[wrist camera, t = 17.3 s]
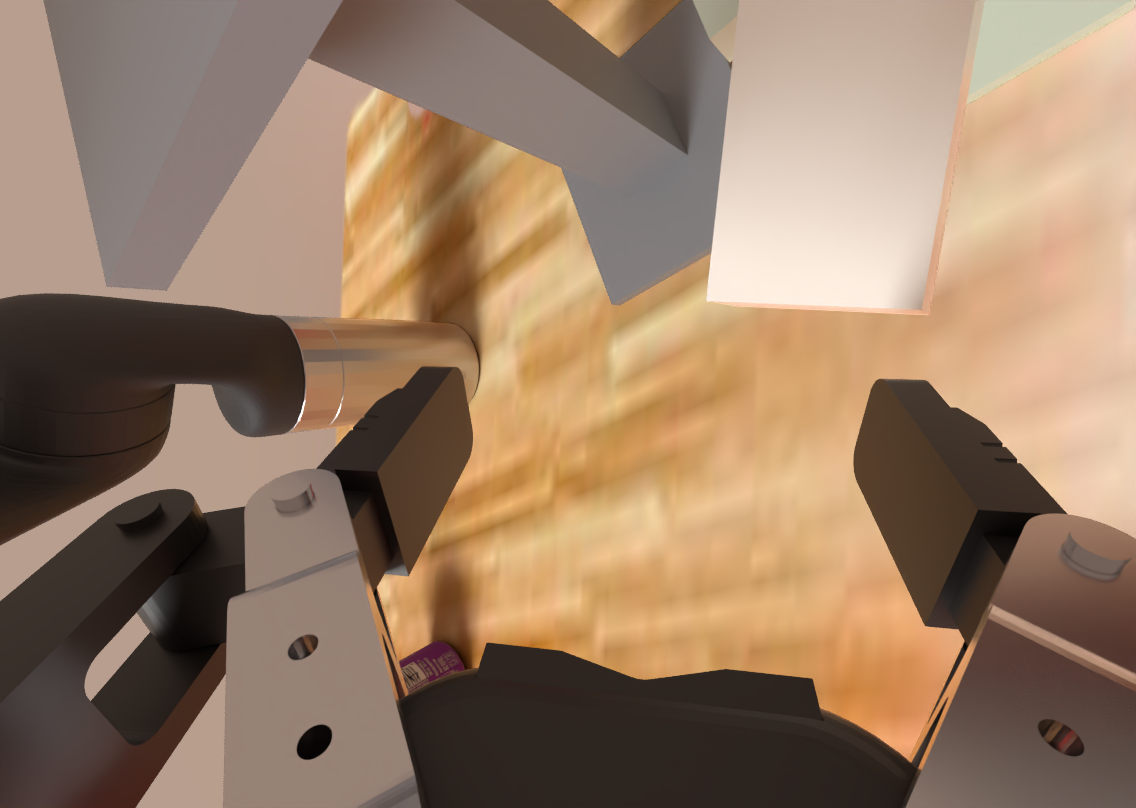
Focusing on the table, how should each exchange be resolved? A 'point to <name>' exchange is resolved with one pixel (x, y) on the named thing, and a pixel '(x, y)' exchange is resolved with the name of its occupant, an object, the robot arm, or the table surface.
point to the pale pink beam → (840, 152)
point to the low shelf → (980, 33)
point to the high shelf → (406, 70)
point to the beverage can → (429, 665)
